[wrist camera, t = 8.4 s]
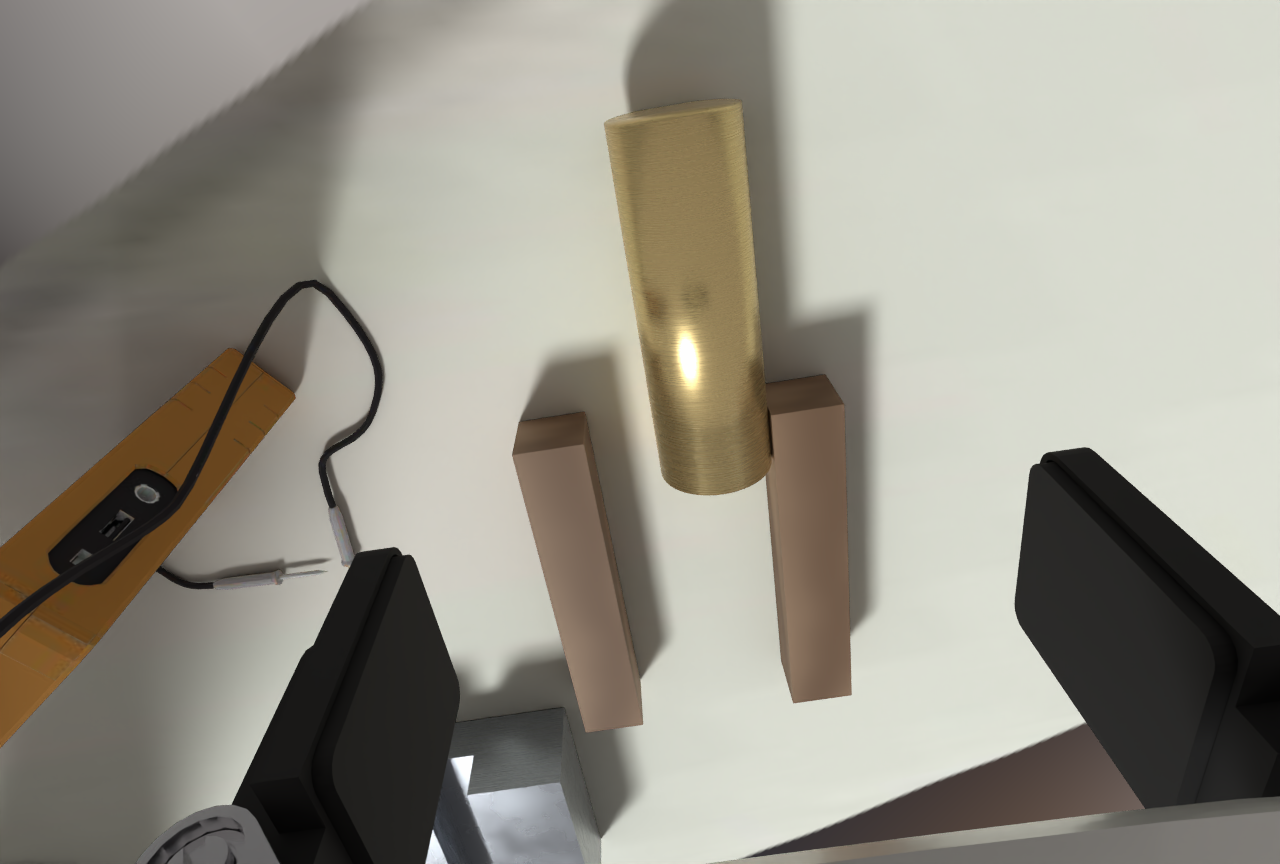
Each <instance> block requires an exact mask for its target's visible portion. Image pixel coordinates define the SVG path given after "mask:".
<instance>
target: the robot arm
mask: <svg viewBox="0 0 1280 864" xmlns="http://www.w3.org/2000/svg"><path fill="white" fill-rule="evenodd" d="M1015 612H1016V616H1017V619H1018V621H1019V624H1020V626H1021V627H1022V629H1023V630H1024V632H1025V633H1026V635H1027V636H1028V638H1029V639H1030V641H1031V642H1032V644H1033V645H1034V646H1035V648H1036V649H1037V651H1038V652H1039V654H1040V655H1041V657H1042V658H1043V660H1044V661H1045V663H1046V664H1047V666H1048V667H1049V668H1050V670H1051V671H1052V673H1053V674H1054V676H1055V677H1056V679H1057V680H1058V682H1059V683H1060V685H1061V686H1062V687H1063V689H1064V690H1065V692H1066V693H1067V695H1068V696H1069V698H1070V699H1071V701H1072V702H1073V704H1074V705H1075V707H1076V708H1077V709H1078V711H1079V712H1080V714H1081V715H1082V717H1083V718H1084V720H1085V721H1086V723H1087V724H1088V726H1089V727H1090V728H1091V730H1092V731H1093V733H1094V734H1095V736H1096V737H1097V739H1098V740H1099V742H1100V743H1101V745H1102V746H1103V748H1104V749H1105V750H1106V752H1107V753H1108V755H1109V756H1110V758H1111V759H1112V761H1113V762H1114V764H1115V765H1116V767H1117V768H1118V769H1119V771H1120V772H1121V774H1122V775H1123V777H1124V778H1125V780H1126V781H1127V782H1128V784H1129V785H1130V787H1131V788H1132V790H1133V791H1134V793H1135V794H1136V796H1137V797H1138V798H1139V800H1140V801H1141V803H1142V805H1143V806H1144V807H1145V809H1141V810H1131V811H1122V812H1113V813H1104V814H1096V815H1088V816H1081V817H1072V818H1064V819H1056V820H1047V821H1040V822H1031V823H1024V824H1016V825H1007V826H999V827H991V828H982V829H975V830H967V831H958V832H950V833H942V834H934V835H926V836H918V837H910V838H902V839H894V840H886V841H878V842H871V843H863V844H855V845H847V846H839V847H832V848H824V849H816V850H809V851H800V852H793V853H785V854H777V855H770V856H762V857H755V858H746V859H739V860H731V861H723V862H715V863H708V864H1280V615H1278V614H1277V613H1276V612H1275V611H1274V610H1273V609H1272V608H1271V607H1269V606H1268V605H1267V604H1266V603H1265V602H1264V601H1263V600H1262V599H1260V598H1259V597H1258V596H1257V595H1256V594H1255V593H1254V592H1252V591H1251V590H1250V589H1249V588H1248V587H1247V586H1246V585H1245V584H1243V583H1242V582H1241V581H1240V580H1239V579H1238V578H1237V577H1236V576H1234V575H1233V574H1232V573H1231V572H1230V571H1229V570H1228V569H1227V568H1225V567H1224V566H1223V565H1222V564H1221V563H1220V562H1219V561H1218V560H1216V559H1215V558H1214V557H1213V556H1212V555H1211V554H1210V553H1209V552H1207V551H1206V550H1205V549H1204V548H1203V547H1202V546H1201V545H1199V544H1198V543H1197V542H1196V541H1195V540H1194V539H1193V538H1192V537H1190V536H1189V535H1188V534H1187V533H1186V532H1185V531H1184V530H1183V529H1181V528H1180V527H1179V526H1178V525H1177V524H1176V523H1175V522H1174V521H1172V520H1171V519H1170V518H1169V517H1168V516H1167V515H1166V514H1165V513H1163V512H1162V511H1161V510H1160V509H1159V508H1158V507H1157V506H1155V505H1154V504H1153V503H1152V502H1151V501H1150V500H1149V499H1148V498H1146V497H1145V496H1144V495H1143V494H1142V493H1141V492H1140V491H1139V490H1137V489H1136V488H1135V487H1134V486H1133V485H1132V484H1131V483H1130V482H1128V481H1127V480H1126V479H1125V478H1124V477H1123V476H1122V475H1121V474H1119V473H1118V472H1117V471H1116V470H1115V469H1114V468H1113V467H1111V466H1110V465H1109V464H1108V463H1107V462H1106V461H1105V460H1104V459H1102V458H1101V457H1100V456H1099V455H1098V454H1097V453H1096V452H1095V451H1093V450H1092V449H1090V448H1085V447H1083V448H1076V449H1069V450H1062V451H1056V452H1049V453H1046V454H1044V455H1043V457H1042V459H1041V461H1040V464H1035V465H1033V466H1032V468H1031V469H1030V474H1029V482H1028V490H1027V499H1026V508H1025V516H1024V525H1023V533H1022V542H1021V551H1020V559H1019V568H1018V577H1017V585H1016V594H1015ZM459 701H460V689H459V682H458V679H457V676H456V673H455V670H454V668H453V665H452V662H451V659H450V657H449V654H448V651H447V648H446V645H445V643H444V640H443V637H442V634H441V632H440V629H439V626H438V623H437V621H436V618H435V615H434V612H433V609H432V607H431V604H430V601H429V598H428V596H427V593H426V590H425V587H424V585H423V582H422V579H421V576H420V574H419V571H418V568H417V565H416V562H415V560H414V558H413V557H412V556H411V555H403V556H402V553H401V552H400V550H399V549H398V548H395V547H392V548H385V549H378V550H371V551H364V552H359V553H357V554H356V556H355V557H354V559H353V561H352V563H351V565H350V567H349V570H348V572H347V574H346V576H345V578H344V580H343V582H342V585H341V587H340V589H339V591H338V593H337V595H336V598H335V600H334V602H333V604H332V606H331V608H330V611H329V613H328V615H327V617H326V619H325V621H324V623H323V626H322V628H321V630H320V632H319V634H318V636H317V639H316V641H315V643H314V645H313V646H312V647H310V648H309V649H307V650H306V651H305V653H304V654H303V656H302V657H301V659H300V661H299V663H298V665H297V668H296V670H295V672H294V674H293V676H292V678H291V680H290V682H289V684H288V687H287V689H286V691H285V693H284V695H283V697H282V699H281V701H280V703H279V706H278V708H277V710H276V712H275V714H274V716H273V718H272V720H271V722H270V725H269V727H268V729H267V731H266V733H265V735H264V737H263V739H262V741H261V744H260V746H259V748H258V750H257V752H256V754H255V756H254V758H253V760H252V763H251V765H250V767H249V769H248V771H247V773H246V775H245V777H244V779H243V782H242V784H241V786H240V788H239V790H238V792H237V794H236V796H235V798H234V801H233V803H232V805H221V806H214V807H211V808H207V809H204V810H201V811H198V812H195V813H194V814H192V815H190V816H188V817H186V818H184V819H183V820H181V821H179V822H177V823H175V824H174V825H173V826H172V827H170V828H169V829H168V830H167V831H165V832H164V833H163V834H161V835H160V836H159V837H158V838H156V839H155V841H154V842H153V843H152V844H151V845H150V846H149V847H148V848H147V849H146V850H145V851H144V852H143V854H142V855H141V856H140V857H139V859H138V860H137V862H136V863H135V864H426V859H427V854H428V849H429V845H430V840H431V835H432V830H433V826H434V821H435V816H436V812H437V807H438V802H439V797H440V793H441V788H442V783H443V778H444V774H445V769H446V764H447V760H448V755H449V750H450V745H451V741H452V736H453V731H454V726H455V722H456V717H457V712H458V708H459Z"/></svg>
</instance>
